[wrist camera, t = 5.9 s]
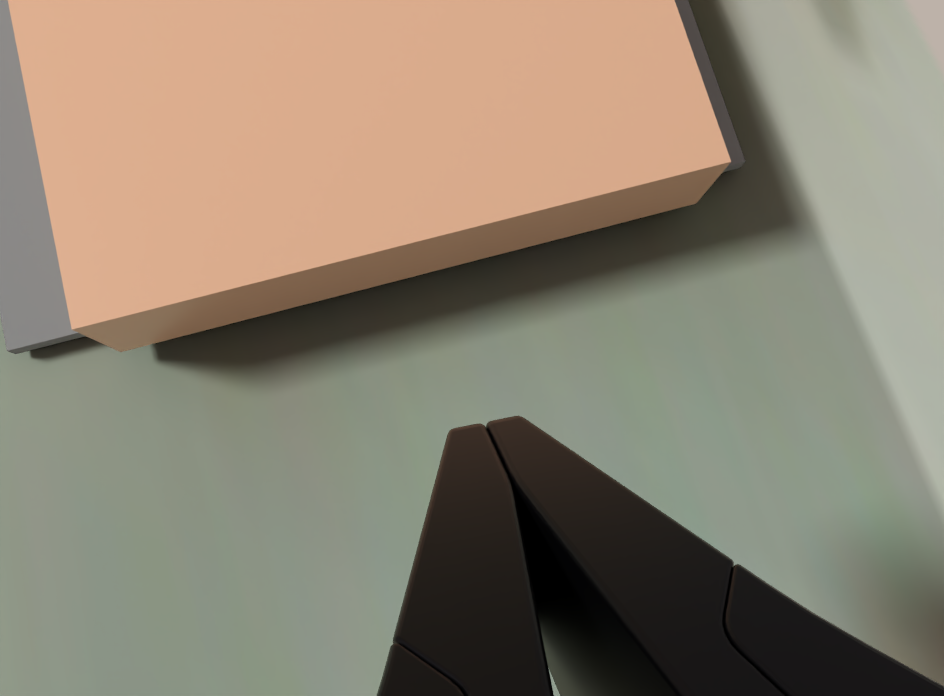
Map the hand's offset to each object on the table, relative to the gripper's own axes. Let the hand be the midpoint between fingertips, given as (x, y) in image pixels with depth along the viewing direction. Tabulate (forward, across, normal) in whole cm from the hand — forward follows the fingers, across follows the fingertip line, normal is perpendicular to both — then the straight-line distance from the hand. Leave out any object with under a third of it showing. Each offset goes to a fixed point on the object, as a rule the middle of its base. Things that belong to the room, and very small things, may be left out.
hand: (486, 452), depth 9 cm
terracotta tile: (+9, 0, +2) cm, 9 cm away
